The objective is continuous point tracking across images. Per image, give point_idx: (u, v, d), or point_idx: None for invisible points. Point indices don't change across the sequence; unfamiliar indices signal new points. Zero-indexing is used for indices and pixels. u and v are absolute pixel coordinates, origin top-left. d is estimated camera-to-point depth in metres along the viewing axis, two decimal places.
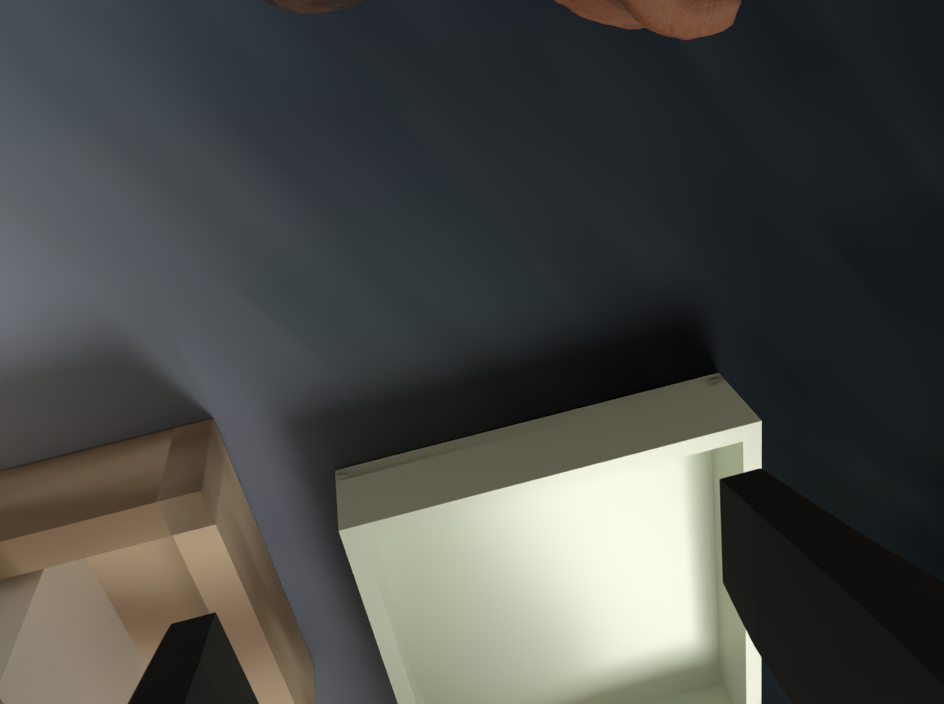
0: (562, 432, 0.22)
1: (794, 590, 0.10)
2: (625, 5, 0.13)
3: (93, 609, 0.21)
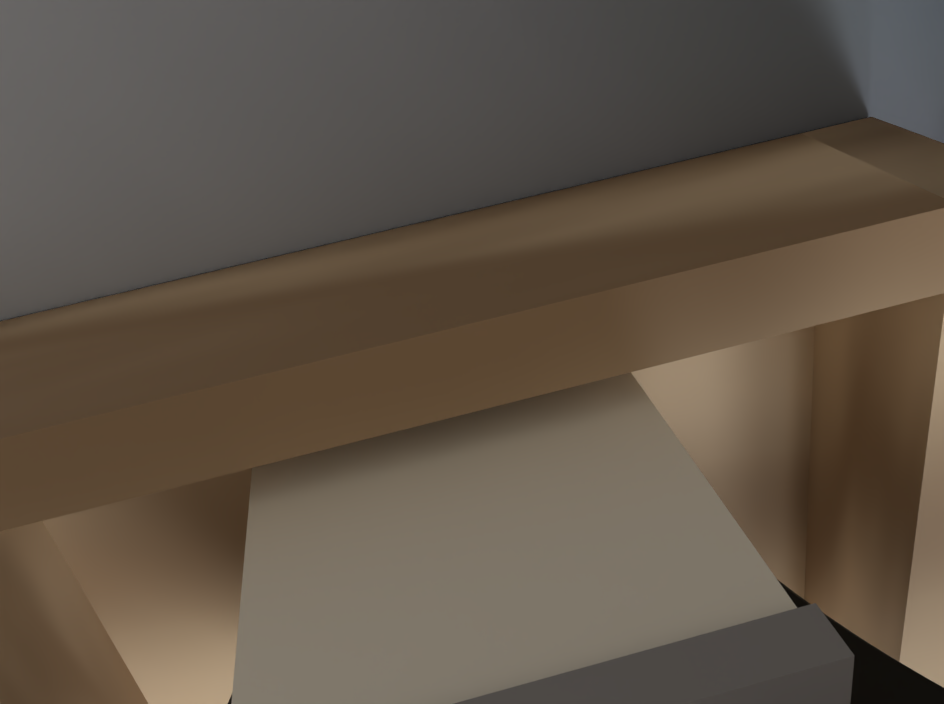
0: None
1: None
2: None
3: None
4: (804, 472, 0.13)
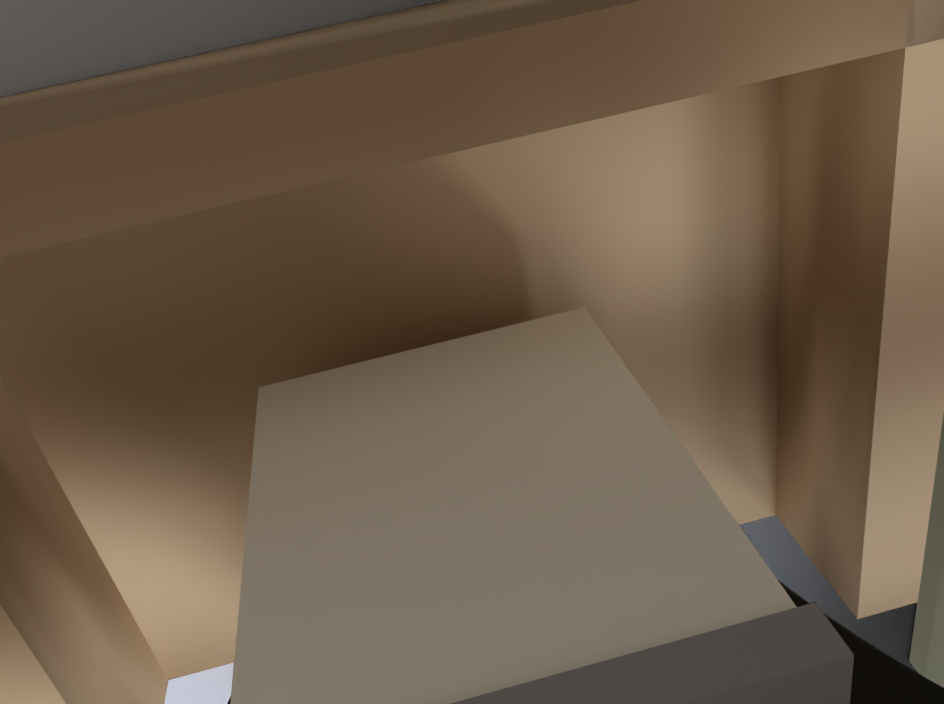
0: None
1: None
2: None
3: None
4: (773, 315, 0.13)
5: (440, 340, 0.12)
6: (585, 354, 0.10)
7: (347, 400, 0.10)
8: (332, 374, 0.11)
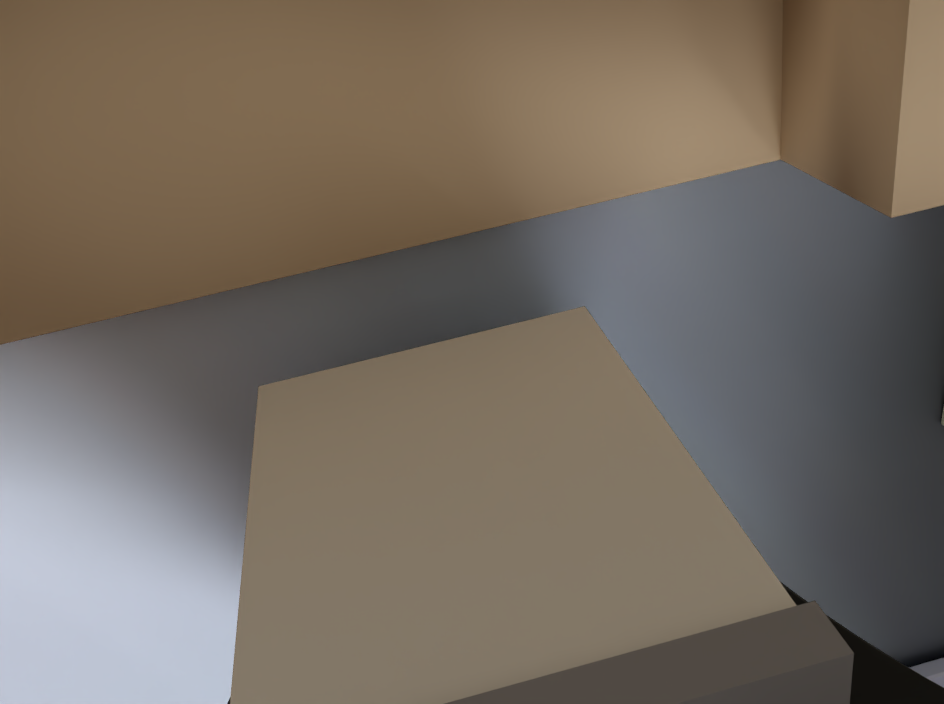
0: None
1: None
2: None
3: None
4: None
5: None
6: (585, 353, 0.10)
7: (347, 399, 0.10)
8: (332, 373, 0.11)
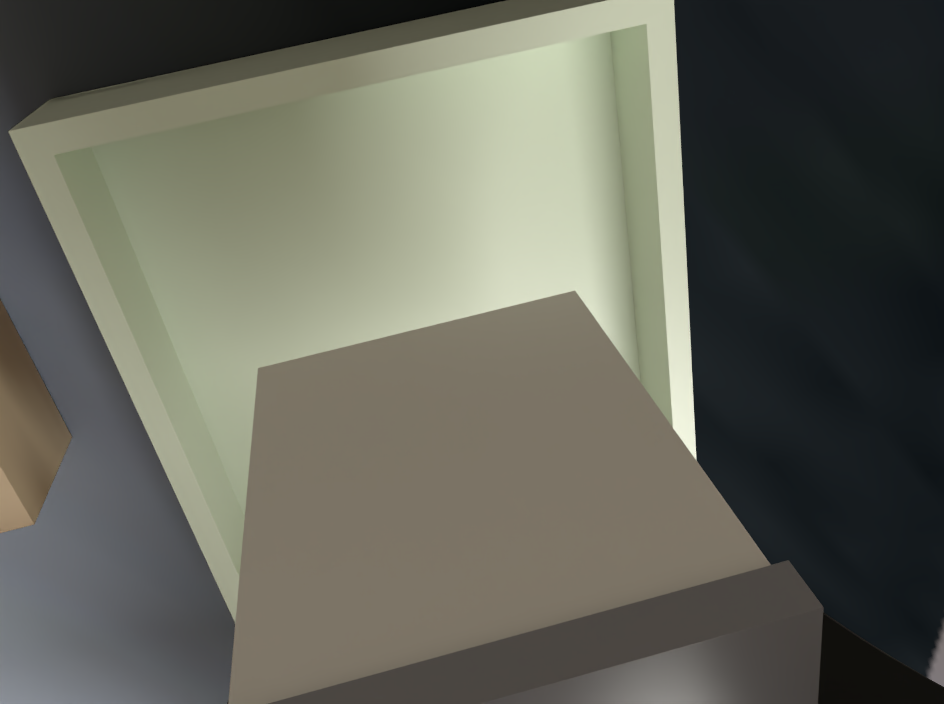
0: (382, 34, 0.15)
1: None
2: None
3: None
4: None
5: None
6: (575, 335, 0.10)
7: (343, 380, 0.10)
8: (330, 355, 0.11)
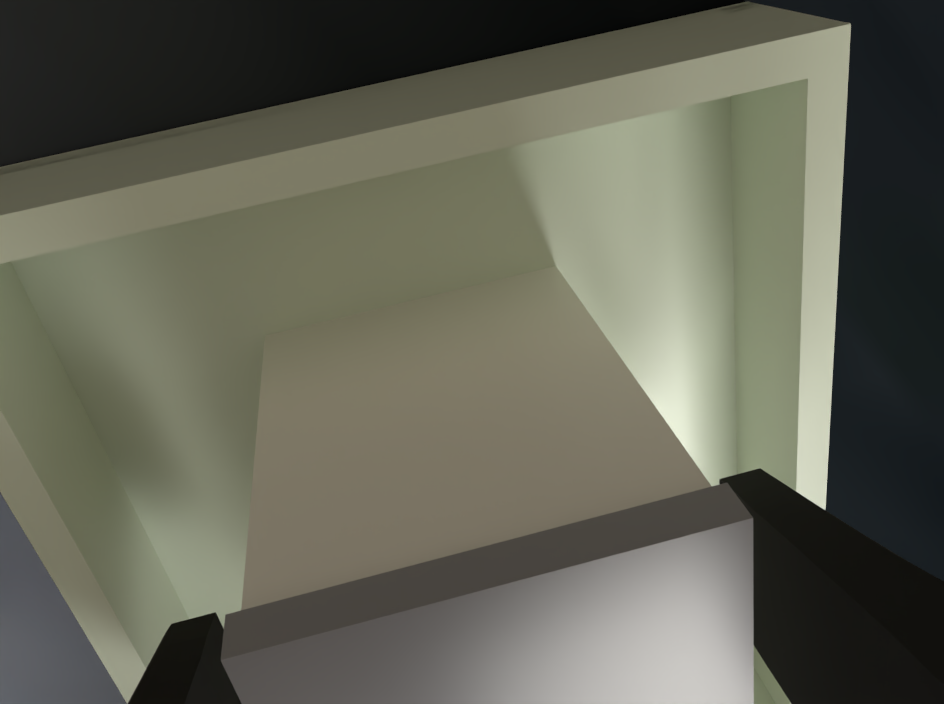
0: (417, 88, 0.10)
1: (795, 590, 0.10)
2: None
3: None
4: None
5: None
6: (554, 303, 0.11)
7: (343, 344, 0.11)
8: (330, 324, 0.12)
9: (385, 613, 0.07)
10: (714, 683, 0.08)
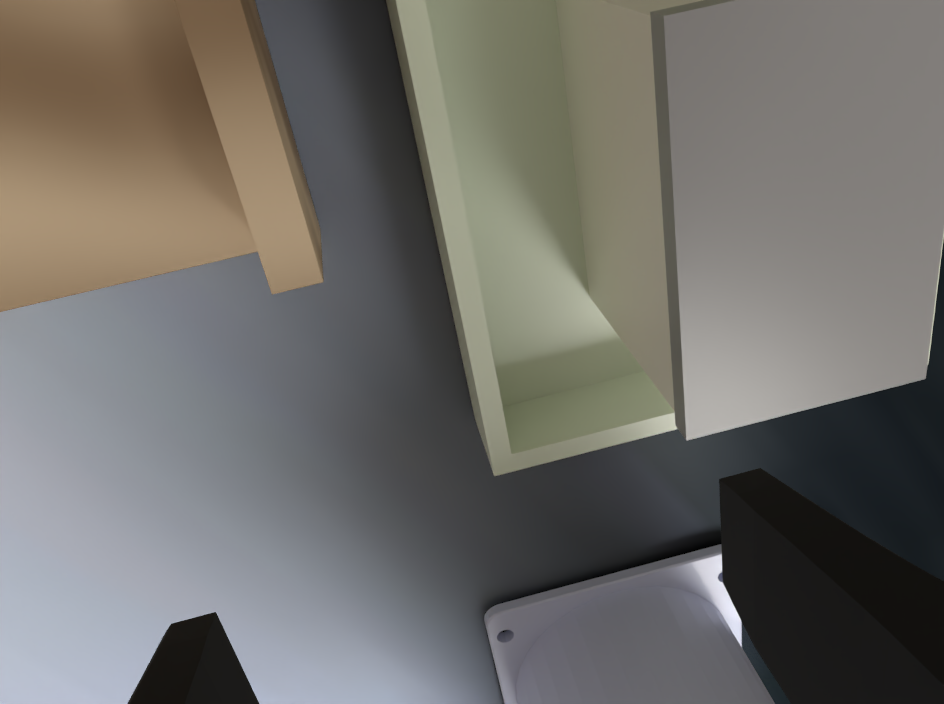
0: None
1: (795, 590, 0.10)
2: None
3: None
4: None
5: None
6: None
7: None
8: None
9: None
10: (935, 98, 0.12)
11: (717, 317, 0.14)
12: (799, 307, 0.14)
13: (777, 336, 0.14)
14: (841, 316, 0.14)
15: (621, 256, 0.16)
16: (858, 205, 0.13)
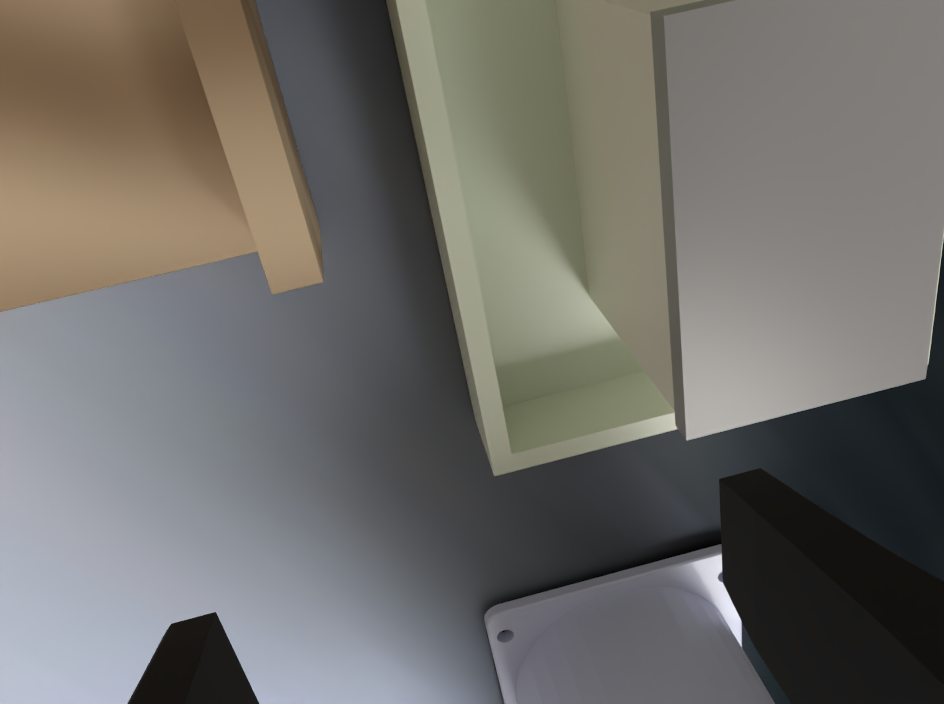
0: None
1: (795, 590, 0.10)
2: None
3: None
4: None
5: None
6: None
7: None
8: None
9: None
10: (935, 98, 0.12)
11: (717, 317, 0.14)
12: (799, 307, 0.14)
13: (777, 336, 0.14)
14: (841, 316, 0.14)
15: (621, 256, 0.16)
16: (858, 205, 0.13)
